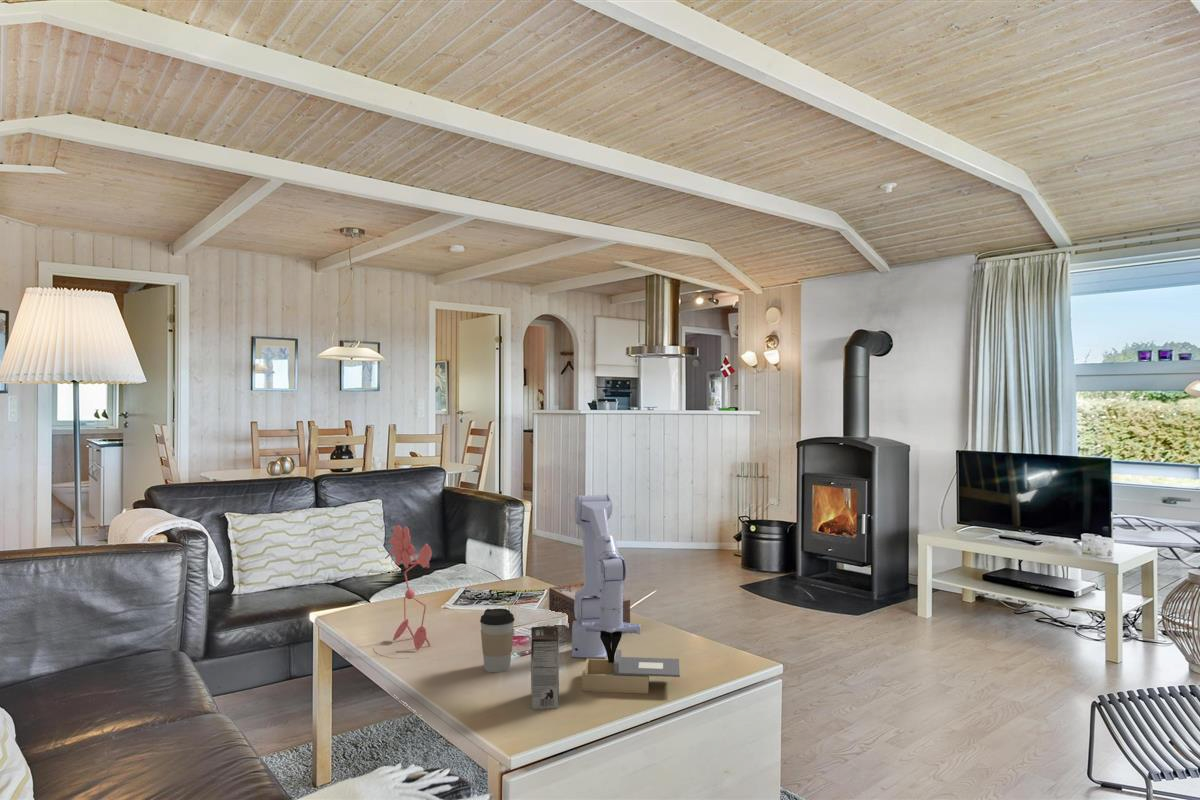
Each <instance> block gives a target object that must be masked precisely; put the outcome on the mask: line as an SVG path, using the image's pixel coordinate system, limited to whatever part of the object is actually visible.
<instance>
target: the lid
mask: <svg viewBox="0 0 1200 800" xmlns="http://www.w3.org/2000/svg"><path fill="white" fill-rule="evenodd" d="M614 659H615V661H614V670H613V675H635V676H649V677H663V678H665V677H669V678H680V677H681V675H680V674H681V673H680V671H681V670H680V659H679V658H670V657H668V658H665V657H660V658H659V657H638V656H637V657H636V656H634V657H633V656H632V657H631V656H622V649H616V652H615V657H614Z"/></svg>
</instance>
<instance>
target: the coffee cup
mask: <svg viewBox="0 0 1200 800" xmlns="http://www.w3.org/2000/svg"><path fill="white" fill-rule="evenodd" d="M515 620H516V619H515V618H514V614H513V613H512V612H511V611H510V610H509V609H506V608H492V609H491V608H487V609H485V611H484V612H483V614H482V615H481V616H480V620H479V622H480V628H481V629H480V635H481V647H482V654H483V656H482V657H483V666H484V667H483V668H484V670H485V671H486V672H489V673H502V672H505V671H508V670H509V669H510V668H511V662H512V661H511V660H512V652H513V643H514V641H513V640H514V630H515V628H514V622H515Z"/></svg>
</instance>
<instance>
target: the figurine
mask: <svg viewBox="0 0 1200 800" xmlns="http://www.w3.org/2000/svg"><path fill="white" fill-rule="evenodd" d="M392 531H393V534H394V535H393V536H391V537H390V539H389V544H390V545H391V546H392V550H391V551H390V552H389V553H388V554H387V556H385V558H384V559H385V560H387V559H388V558H389V557H390V556H391V555H392V554H393V556H394V560H395V564H396V566H400V565H401V564H403V566H404V568H405V569H406V570H404V573H403V575H404V578H405V583H406V589H407V590H406V591H405V593H404V595H405V596H404V598H403V606H404V607H403V608H404V609H403V612H404V613H403V614H404V620H403V621H402V623H400V625H399V626H398V627H397V629H396V631H395V633H394V636H393V638H392V641H393V642H394V641H396V640H398V638H399V637H401V636H402V635H403V634H404V633H405V632H406V633H408V632H410V636H411V637H412V639H413V638H414V639H413V645H414V647H415V650H416V651H419V650H420V648H421V647H422V646H423V645H424V644H425V642H426V644H427V645H428V647H431V646H432V645H431V643H430V641H429V639H428V637H427V629H426V627H425V626H424V622H425V621H424V620H425V613H426V609H427V605H426V604H424V603H423V602H421V601H420V600H419V599H417V598H415V595H416V593H415V591H414V590H413V589H411V588H410V587H409V583H408V576H407V572H408V571H410V570H411V569H413V568H414V567H416V566H417V565H420V566H421V567H422V568H423V569H425V568H427V569H430V560H431V557H432V549H431V546H430V545H429V544H428V543H425V544H424V545H423V547H421V548H420V551H419V552H418V557H416V556H415V553H416V548H415V546H414V545H413V544H412V543H411V539H412V538H411V536H410V530H409V526H407V525H405V526H404V527H403V529H402V527H401V526H400V525H399V524H396V526H395V527H393V530H392ZM411 556H412V557H413V559H414V560H415V561H412V557H411ZM409 565H411V566H410V567H409ZM406 599H408V600H411V599H413V600H415V601H416V602H418V603H419V604H421V605H422V606H424V609H423V613H422V620H421V624H420V626H419V627H418V628H417V630H416V631H415V632H414V633H413V630H412V629H411V627H410V625H409V621H410V620H409V618H408V619H407V616H406V614H407V613H406V609H407V608H406ZM406 629H408V630H409V631H405V630H406Z"/></svg>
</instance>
